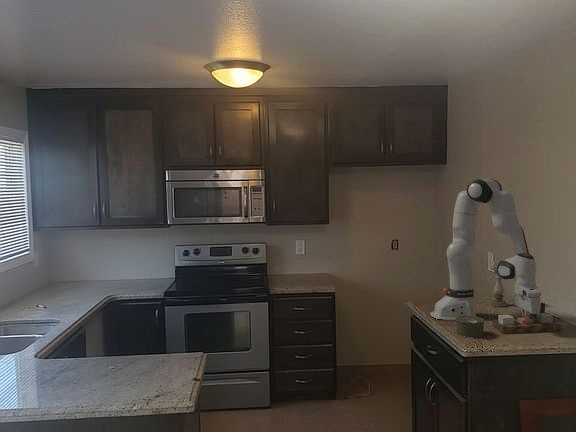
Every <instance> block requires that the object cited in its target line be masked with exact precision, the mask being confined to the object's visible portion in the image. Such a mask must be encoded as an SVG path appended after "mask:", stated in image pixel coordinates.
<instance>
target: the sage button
mask: <svg viewBox="0 0 576 432" xmlns="http://www.w3.org/2000/svg"><path fill="white" fill-rule="evenodd" d="M553 317H554V316H553V315H552V314H550V313H548V312H544V313H539V314H537V321H538V322H540V323H553V321H554V320H553V319H554V318H553Z"/></svg>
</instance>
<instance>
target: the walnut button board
mask: <svg viewBox="0 0 576 432" xmlns="http://www.w3.org/2000/svg"><path fill="white" fill-rule="evenodd" d="M531 319H532V320H533V324H521V323H519V322H518V320H517V318H514V325H502V324H500V323H498V319H492V320H491V324H492V325H491V326H492V327H493V328H494V329H496V330H497V331H499V332H500V333H502V335H505V334H507V335H509V334H525V333H528V334H529V333H549V332H551V333H552V332H553V333H554V332H561V324H560V323H557V322H555V321H554V320H553V323H540V322H538V321H537V318H533V317H532V318H531Z"/></svg>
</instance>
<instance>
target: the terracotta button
mask: <svg viewBox="0 0 576 432" xmlns="http://www.w3.org/2000/svg"><path fill="white" fill-rule="evenodd" d="M516 319H517V320H518V322H519V323H521V324H533V320H532V319H531V318H530V317H529V319H527V320H526V319H524V318H522V316H521V317H517V318H516Z"/></svg>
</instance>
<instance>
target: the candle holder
mask: <svg viewBox="0 0 576 432" xmlns="http://www.w3.org/2000/svg"><path fill="white" fill-rule="evenodd" d="M490 270H491V271H493V272H494V273H495V277H494V278H495V284H494V285H495V286H494V287H493V294H494V295H493V296H494V298H495V299H494V300H491V302H490V306H492V307H497V308H504V307H505V308H506V307H508V306H509V304H508V302H506V301H505V300H503V298H504V295H503V294H505V288H504V286H503V282H502V280H503V279H502V278H501V277H500V276H499V275H498V273H497V266H495V267H492V268H490Z"/></svg>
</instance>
